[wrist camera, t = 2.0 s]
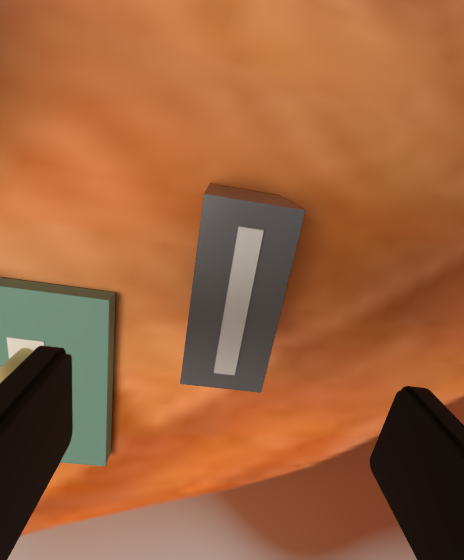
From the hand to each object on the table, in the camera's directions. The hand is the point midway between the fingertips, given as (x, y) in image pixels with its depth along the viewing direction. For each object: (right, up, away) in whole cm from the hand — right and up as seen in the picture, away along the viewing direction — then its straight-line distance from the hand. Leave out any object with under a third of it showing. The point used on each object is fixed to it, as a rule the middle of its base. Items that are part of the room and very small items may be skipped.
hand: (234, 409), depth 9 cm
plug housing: (0, +5, +10) cm, 11 cm away
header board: (-14, -3, +13) cm, 19 cm away
